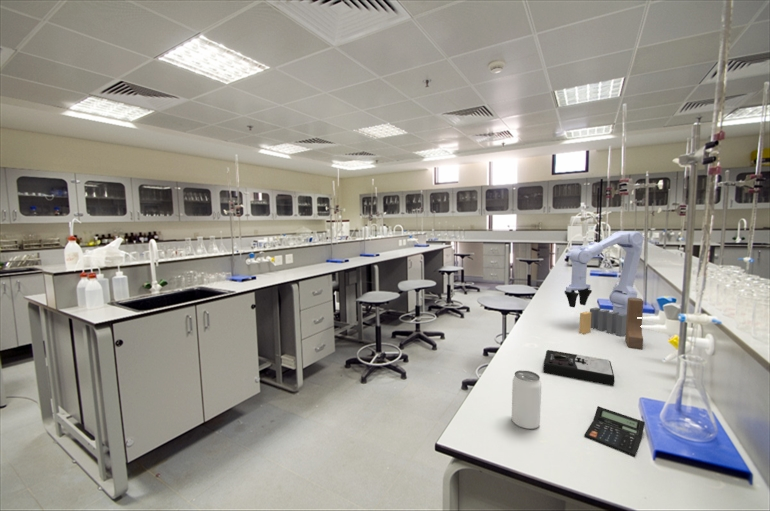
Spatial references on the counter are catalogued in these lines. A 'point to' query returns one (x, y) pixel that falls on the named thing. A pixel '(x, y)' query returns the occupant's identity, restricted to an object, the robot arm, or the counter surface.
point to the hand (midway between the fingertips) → (577, 305)
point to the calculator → (616, 431)
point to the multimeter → (579, 367)
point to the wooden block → (634, 323)
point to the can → (526, 399)
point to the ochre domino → (585, 322)
